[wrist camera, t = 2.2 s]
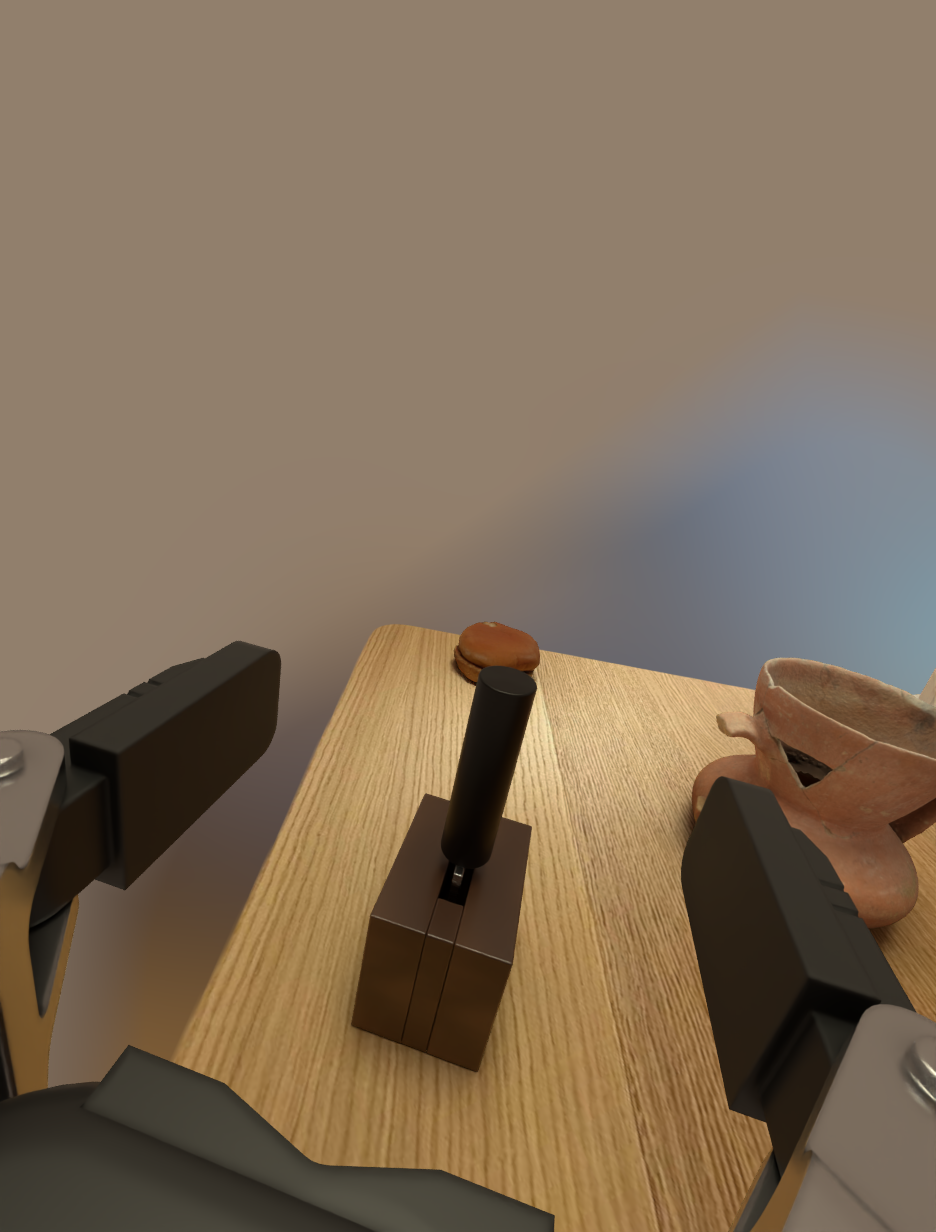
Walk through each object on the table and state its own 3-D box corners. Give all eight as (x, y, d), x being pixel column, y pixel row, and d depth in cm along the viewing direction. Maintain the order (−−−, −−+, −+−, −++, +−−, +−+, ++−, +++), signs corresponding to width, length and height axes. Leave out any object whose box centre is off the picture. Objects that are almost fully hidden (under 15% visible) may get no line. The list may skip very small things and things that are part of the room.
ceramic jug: (704, 928, 33) (799, 737, 28) (643, 778, 46) (699, 631, 41) (982, 980, 33) (1126, 801, 28) (841, 817, 47) (922, 676, 42)
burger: (489, 698, 54) (498, 657, 52) (435, 658, 60) (442, 620, 59) (552, 682, 61) (563, 645, 59) (498, 647, 67) (506, 612, 65)
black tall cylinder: (404, 987, 26) (471, 688, 20) (423, 931, 29) (486, 655, 23) (451, 1004, 26) (533, 706, 20) (465, 946, 29) (540, 670, 23)
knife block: (350, 1025, 24) (369, 915, 22) (406, 886, 32) (425, 792, 29) (477, 1073, 23) (512, 965, 21) (504, 919, 31) (532, 825, 28)
